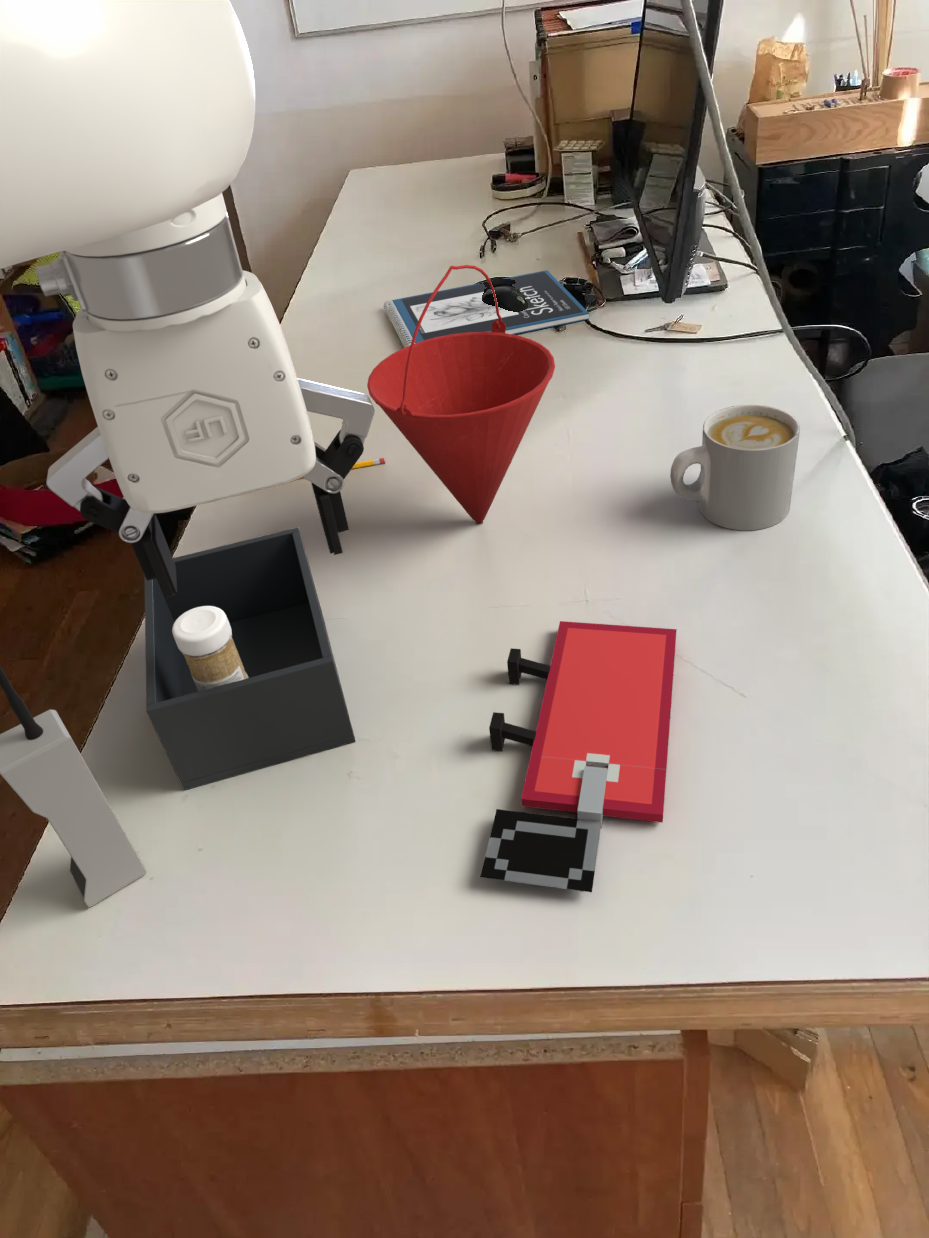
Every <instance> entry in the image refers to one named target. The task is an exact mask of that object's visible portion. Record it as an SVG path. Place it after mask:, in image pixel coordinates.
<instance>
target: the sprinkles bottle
mask: <svg viewBox="0 0 929 1238" xmlns="http://www.w3.org/2000/svg"><path fill="white" fill-rule="evenodd" d="M172 633H173V636H174V639H175V641H176V644H177V646H178V648H179V650H180V651H181V652H182V654H183V655H184V657H185V659H186V662H187V664H188V666H189V668H190V671H191V675H192V678H193V680H194V682H195V685H196V687H197V690H198V692H199V691H202V690H206V689H210V688H214V687H217V686H221V685H225V684H228V683H232V682H236V681H240V680H243V679H247V678H248V676H247V673H246V672H245V670H244V667H243V664H242V662H241V659H240V657H239V654H238V651H237V649H236V647H235V644H234V641H233V639H232V630H231V626H230V624H229V621H228V619H227V617H226V614H225V613H224V611H223V610H221V609H220V608H217V607H214V606H201V607H196V608H193V609H191V610H189V611H187V612H185V613H183V614H182V615H181V616H180V617H178V619H177V620H176V621H175V623H174V624H173V628H172Z"/></svg>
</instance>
